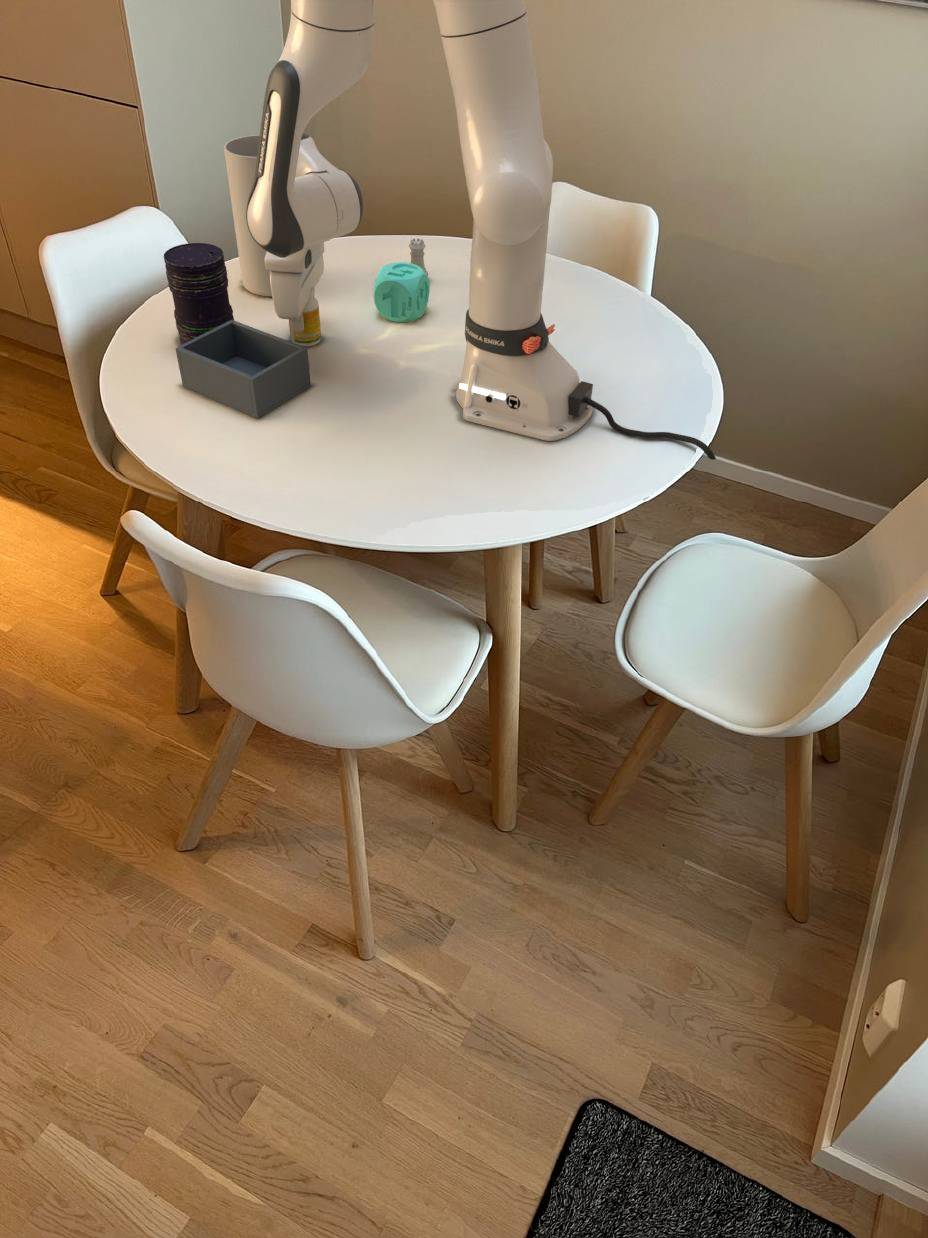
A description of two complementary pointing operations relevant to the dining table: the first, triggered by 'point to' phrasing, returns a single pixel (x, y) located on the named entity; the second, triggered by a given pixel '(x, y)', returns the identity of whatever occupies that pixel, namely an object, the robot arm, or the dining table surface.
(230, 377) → the box shelf
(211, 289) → the dark barrel
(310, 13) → the robot arm
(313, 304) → the supplement bottle
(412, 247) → the rook chess piece
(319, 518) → the dining table surface
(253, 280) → the cylinder vase
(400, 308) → the decorative dice
